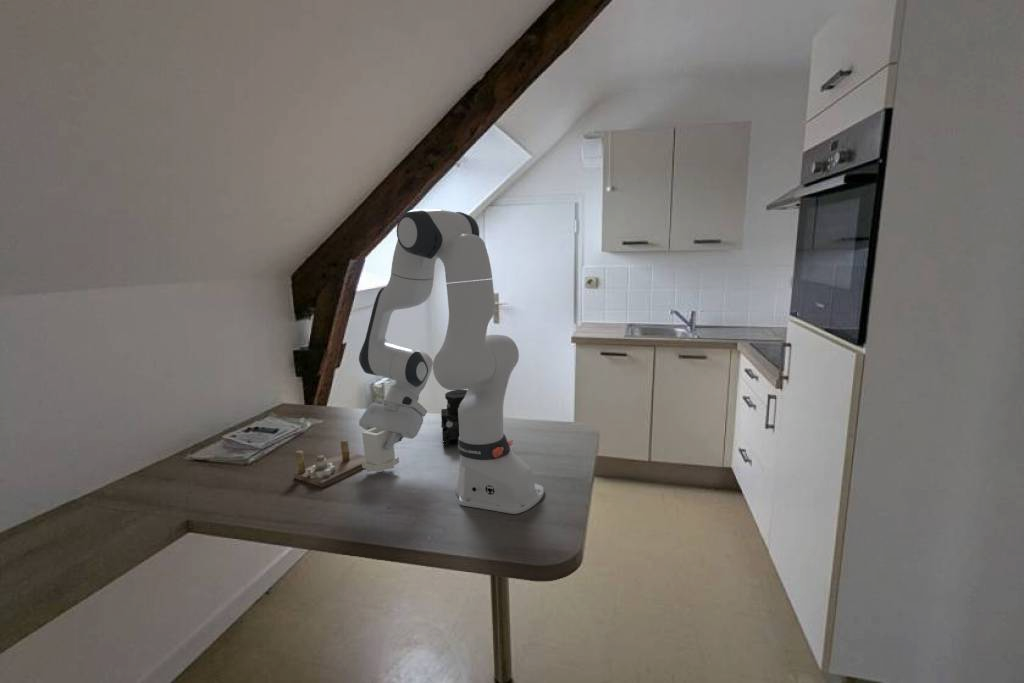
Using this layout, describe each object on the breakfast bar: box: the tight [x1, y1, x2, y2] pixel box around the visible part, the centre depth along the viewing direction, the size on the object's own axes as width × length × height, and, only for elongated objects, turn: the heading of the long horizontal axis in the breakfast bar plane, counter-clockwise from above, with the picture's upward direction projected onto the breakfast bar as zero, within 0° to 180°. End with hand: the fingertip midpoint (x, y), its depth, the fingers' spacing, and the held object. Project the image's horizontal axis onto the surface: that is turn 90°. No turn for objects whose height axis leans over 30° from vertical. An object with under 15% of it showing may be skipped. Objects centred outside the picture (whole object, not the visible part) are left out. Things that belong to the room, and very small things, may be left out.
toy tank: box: [440, 389, 468, 447], centre depth 161 cm, size 12×18×15 cm
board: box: [293, 438, 365, 489], centre depth 140 cm, size 12×18×8 cm
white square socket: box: [361, 427, 400, 473], centre depth 136 cm, size 10×10×10 cm
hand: (377, 447), depth 136 cm, fingers closed on white square socket, 6 cm apart
